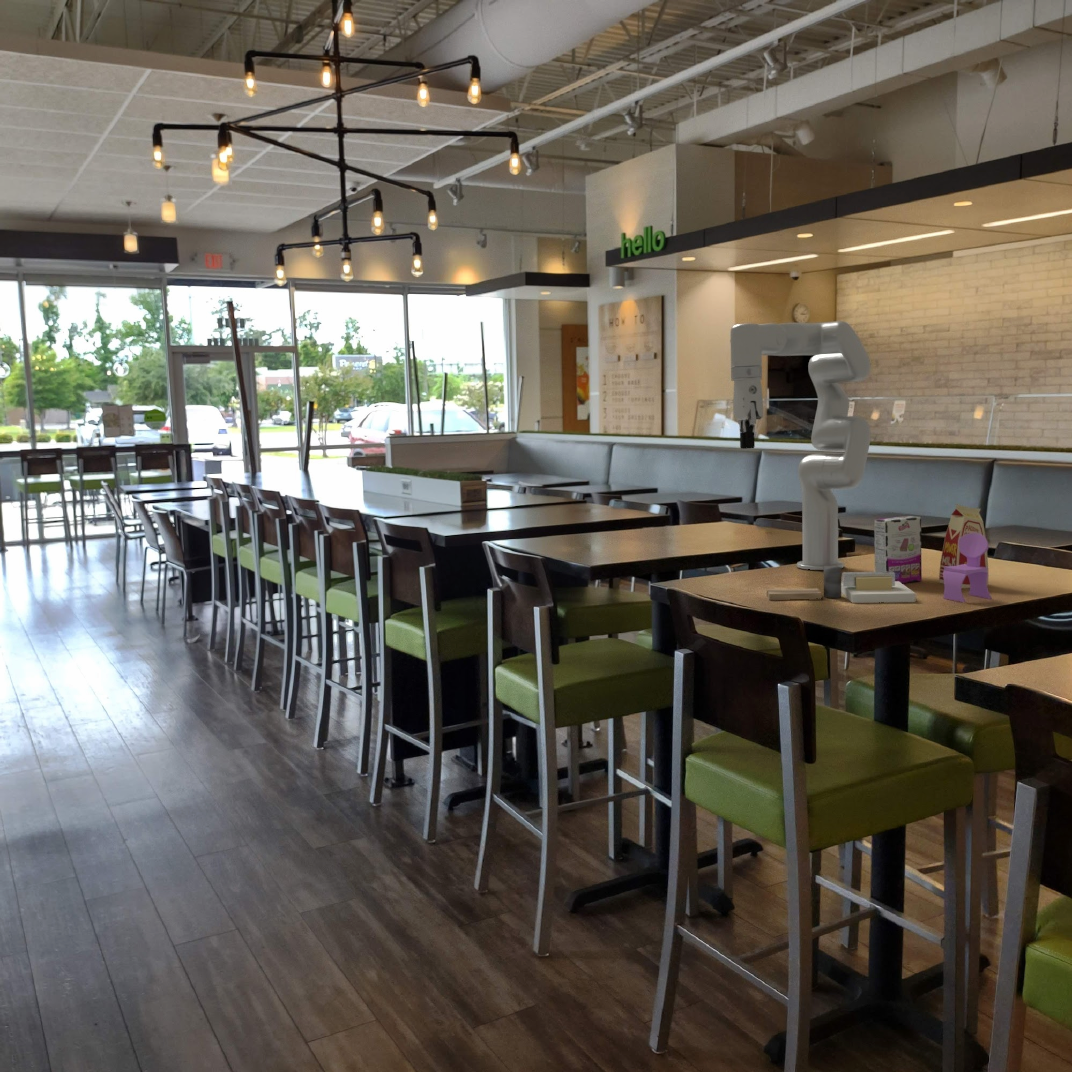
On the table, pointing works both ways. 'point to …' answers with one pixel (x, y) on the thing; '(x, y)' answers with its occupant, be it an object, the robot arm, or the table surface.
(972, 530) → the milk carton
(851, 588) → the butter dish
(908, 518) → the candy bar box
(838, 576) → the jamb
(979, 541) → the toy chair
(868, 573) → the swing bar
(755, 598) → the table surface
